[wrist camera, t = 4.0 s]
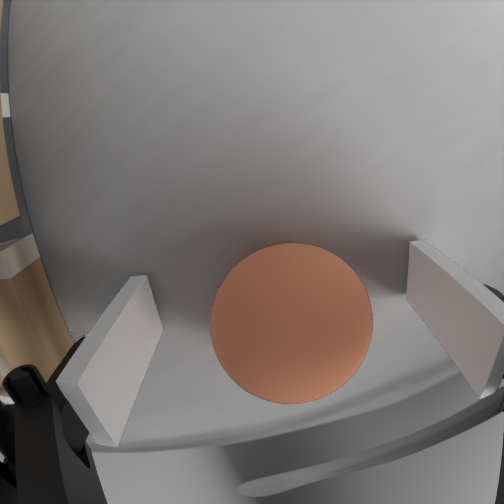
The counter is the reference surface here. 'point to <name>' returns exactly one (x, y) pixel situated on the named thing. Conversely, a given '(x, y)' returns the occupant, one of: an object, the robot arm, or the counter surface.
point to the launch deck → (28, 313)
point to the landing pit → (9, 152)
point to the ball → (291, 323)
